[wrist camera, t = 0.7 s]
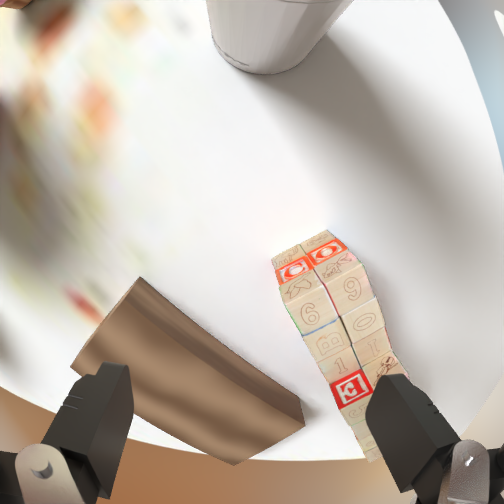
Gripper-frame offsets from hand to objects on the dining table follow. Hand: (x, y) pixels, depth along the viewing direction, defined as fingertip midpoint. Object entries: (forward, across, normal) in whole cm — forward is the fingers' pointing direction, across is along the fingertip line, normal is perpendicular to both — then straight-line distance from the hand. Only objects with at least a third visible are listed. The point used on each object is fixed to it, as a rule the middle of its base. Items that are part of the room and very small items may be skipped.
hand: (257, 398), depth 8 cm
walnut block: (+21, +4, +17) cm, 27 cm away
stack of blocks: (+21, -12, +8) cm, 25 cm away
